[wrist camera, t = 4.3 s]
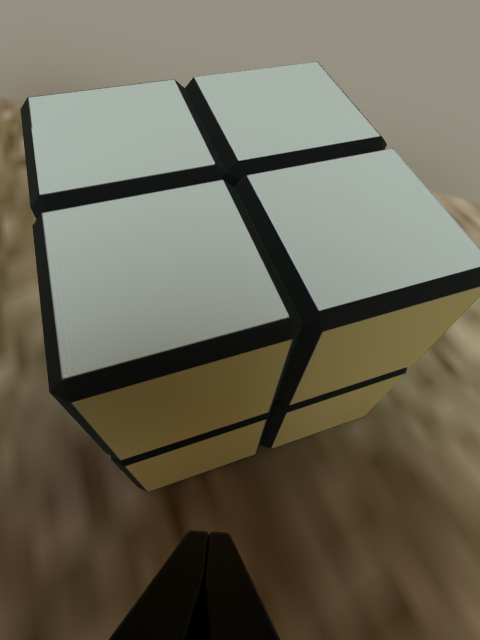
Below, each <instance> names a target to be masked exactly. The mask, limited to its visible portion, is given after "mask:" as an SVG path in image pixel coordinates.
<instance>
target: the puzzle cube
mask: <svg viewBox="0 0 480 640" xmlns="http://www.w3.org/2000/svg"><path fill="white" fill-rule="evenodd" d="M21 118H22V128H23V137H24V147H25V157H26V167H27V176H28V186H29V196H30V206H31V209H32V211H33V213H34V215H35V217H36V219H37V220H36V221H35V223H34V224H33V235H34V245H35V255H36V264H37V274H38V284H39V294H40V303H41V313H42V323H43V333H44V343H45V352H46V362H47V372H48V382H49V391H50V393H51V394H52V395H53V396H54V397H55V399H56V400H57V401H58V402H59V403H60V404H61V405H62V406H63V407H64V408H65V409H66V410H67V411H68V413H69V414H70V415H71V416H72V417H73V418H74V419H75V420H76V421H77V422H78V423H79V424H80V425H81V426H82V428H83V429H84V430H85V431H86V432H87V433H88V434H89V435H90V436H91V437H92V438H93V439H94V440H95V442H96V443H97V444H98V445H99V446H100V447H101V448H102V449H103V450H104V451H105V452H106V453H107V454H109V455H111V459H112V460H113V462H114V463H115V464H116V465H117V466H118V467H119V468H120V469H121V470H122V471H123V472H124V473H125V474H126V475H127V476H128V477H129V478H130V479H131V480H132V481H133V482H134V483H135V484H136V485H137V486H138V487H139V488H141V489H143V490H145V491H147V492H150V491H153V490H155V489H158V488H161V487H164V486H167V485H170V484H172V483H175V482H178V481H181V480H184V479H187V478H190V477H192V476H195V475H198V474H201V473H204V472H207V471H209V470H212V469H215V468H218V467H221V466H224V465H227V464H229V463H232V462H235V461H238V460H241V459H244V458H246V457H249V456H252V455H255V454H256V452H257V450H258V448H259V446H260V443H261V444H262V445H264V446H266V447H268V448H270V449H272V448H275V447H278V446H281V445H284V444H287V443H289V442H292V441H295V440H298V439H301V438H304V437H307V436H309V435H312V434H315V433H318V432H321V431H324V430H326V429H329V428H332V427H335V426H338V425H341V424H343V423H346V422H349V421H352V420H355V419H358V418H361V417H363V416H365V415H366V414H367V413H368V412H369V411H370V410H371V409H372V408H373V407H374V406H375V405H376V404H377V403H378V402H379V401H380V400H381V399H382V398H383V396H384V395H385V394H386V393H387V392H388V391H389V390H390V389H391V388H392V387H393V386H394V385H395V384H396V383H397V382H398V381H399V380H400V379H401V378H402V376H403V375H404V374H405V373H406V370H407V367H409V366H412V365H414V363H415V362H416V361H417V360H418V359H419V358H420V357H421V356H422V355H423V354H424V353H425V352H426V351H427V350H428V349H429V348H430V347H431V346H432V345H433V344H434V343H435V342H436V341H437V340H438V339H439V338H440V337H441V336H442V335H443V334H444V333H445V332H446V330H447V329H448V328H449V327H450V326H451V325H452V324H453V323H454V322H455V321H456V320H457V319H458V318H459V317H460V316H461V315H462V314H463V313H464V312H465V311H466V310H467V309H468V308H469V307H470V306H471V305H472V304H473V303H474V302H475V301H476V300H477V299H478V297H479V296H480V248H479V247H478V246H477V245H476V244H475V243H474V242H473V240H472V239H471V238H470V237H469V236H468V235H467V233H466V232H465V231H464V230H463V229H462V228H461V226H460V225H459V224H458V223H457V222H456V221H455V220H454V218H453V217H452V216H451V215H450V214H449V213H448V211H447V210H446V209H445V208H444V207H443V206H442V204H441V203H440V202H439V201H438V200H437V199H436V198H435V196H434V195H433V194H432V193H431V192H430V191H429V189H428V188H427V187H426V186H425V185H424V184H423V182H421V180H420V179H419V178H418V177H417V176H416V174H415V173H414V172H413V171H412V170H411V169H410V167H409V166H408V165H407V164H406V163H405V162H404V160H403V159H402V158H401V157H400V156H399V155H398V153H397V152H396V151H395V150H394V149H393V148H392V149H387V150H385V147H386V145H387V144H386V142H385V141H384V139H383V138H382V136H381V135H380V134H379V133H378V132H377V130H376V129H375V128H374V127H373V126H372V125H371V123H370V122H369V121H368V120H367V119H366V118H365V116H364V115H363V114H362V113H361V112H360V111H359V109H358V108H357V107H356V106H355V105H354V104H353V102H352V101H351V100H350V99H349V98H348V97H347V95H346V94H345V93H344V92H343V91H342V90H341V89H340V87H339V86H338V85H337V84H336V83H335V82H334V80H333V79H332V78H331V77H330V76H329V75H328V73H327V72H326V71H325V70H324V69H323V68H322V67H321V65H320V64H319V63H318V62H311V63H304V64H295V65H286V66H278V67H270V68H262V69H255V70H246V71H238V72H230V73H222V74H213V75H205V76H197V77H193V79H192V80H191V81H190V83H189V84H188V85H187V86H186V88H184V87H182V86H181V85H180V84H179V83H178V82H177V81H176V80H174V79H173V80H164V81H157V82H148V83H140V84H132V85H124V86H115V87H107V88H99V89H91V90H83V91H75V92H67V93H58V94H51V95H42V96H35V97H28V98H27V99H26V101H25V103H24V105H23V106H22V108H21Z"/></svg>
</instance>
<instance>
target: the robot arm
mask: <svg viewBox="0 0 480 640" xmlns="http://www.w3.org/2000/svg"><path fill="white" fill-rule="evenodd" d="M109 640H280V638H279V636H278V634H277V632H276V630H275V627H274V625H273V623H272V621H271V619H270V617H269V615H268V613H267V611H266V609H265V606H264V604H263V602H262V600H261V598H260V596H259V594H258V592H257V590H256V588H255V585H254V583H253V581H252V579H251V577H250V575H249V573H248V571H247V569H246V567H245V564H244V562H243V560H242V558H241V556H240V554H239V552H238V550H237V548H236V546H235V543H234V541H233V539H232V537H231V535H230V534H229V533H227V532H211V533H210V534H208V532H206V531H189V532H188V533H187V534H186V535H185V537H184V538H183V539H182V541H181V542H180V544H179V545H178V546H177V548H176V549H175V550H174V552H173V553H172V554H171V556H170V557H169V558H168V560H167V561H166V563H165V564H164V565H163V567H162V568H161V569H160V571H159V572H158V573H157V575H156V576H155V577H154V579H153V580H152V582H151V583H150V584H149V586H148V587H147V588H146V590H145V591H144V592H143V594H142V595H141V596H140V598H139V599H138V601H137V602H136V603H135V605H134V606H133V607H132V609H131V610H130V611H129V613H128V614H127V615H126V617H125V618H124V620H123V621H122V622H121V624H120V625H119V626H118V628H117V629H116V630H115V632H114V633H113V634H112V636H111V637H110V639H109Z"/></svg>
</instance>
